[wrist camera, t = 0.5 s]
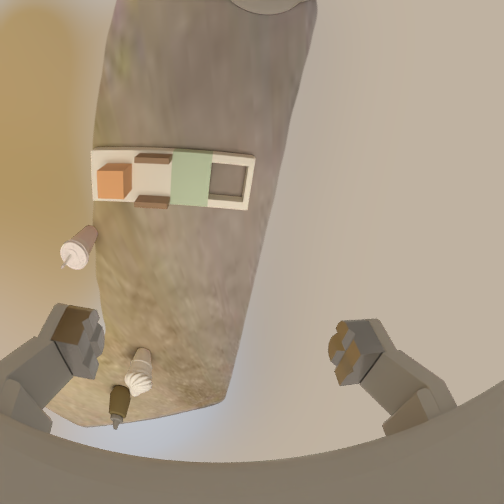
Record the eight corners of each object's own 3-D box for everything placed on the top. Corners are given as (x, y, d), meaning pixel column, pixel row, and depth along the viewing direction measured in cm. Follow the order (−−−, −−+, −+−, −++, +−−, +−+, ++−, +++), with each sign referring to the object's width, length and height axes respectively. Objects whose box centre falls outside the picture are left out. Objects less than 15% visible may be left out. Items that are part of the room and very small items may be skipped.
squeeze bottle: (122, 382, 84) (115, 424, 69) (135, 392, 88) (130, 433, 73) (108, 384, 85) (99, 424, 70) (121, 394, 89) (115, 433, 74)
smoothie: (89, 214, 51) (60, 248, 39) (108, 234, 54) (84, 272, 42) (73, 230, 52) (45, 266, 40) (92, 250, 55) (68, 288, 43)
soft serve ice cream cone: (148, 341, 72) (140, 387, 59) (161, 357, 77) (156, 402, 64) (125, 345, 73) (115, 389, 59) (139, 361, 77) (132, 403, 64)
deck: (97, 147, 44) (82, 154, 38) (253, 155, 49) (258, 163, 43) (98, 194, 49) (85, 207, 43) (245, 204, 54) (248, 218, 49)
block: (107, 163, 43) (96, 170, 39) (131, 163, 44) (123, 171, 40) (107, 188, 46) (98, 198, 41) (131, 189, 46) (123, 199, 42)
